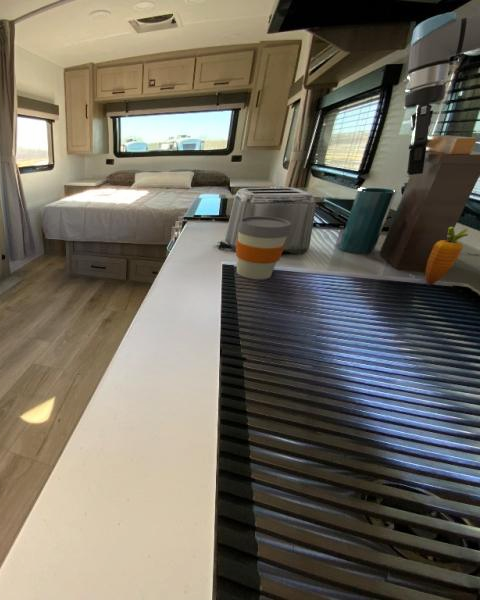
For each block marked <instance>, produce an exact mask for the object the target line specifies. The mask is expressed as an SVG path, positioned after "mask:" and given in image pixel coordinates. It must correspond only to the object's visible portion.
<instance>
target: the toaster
mask: <svg viewBox="0 0 480 600" xmlns="http://www.w3.org/2000/svg"><path fill="white" fill-rule="evenodd" d="M319 209H320V206H319V205H318V204H317V198H316V197H315V196H314V195H313V194H311V193H310V192H308V191H305V190H302V189H299V188H296V187H243V188H239V189H238V190H237V192H236V193H235V195H234V198H233V203H232V207H231V210H230V216H229V220H228V224H227V229H226V234H225V242H224V241H223V240H220V241H217V243H218V244H219V245H218V244H217V245H216V247H218V249H223V250H225V249H228V250H233V251H234V252H236V240H237V239H238V230H237V229H238V226H239V222H240V220H241V219H242V218H244V217H251V216H266V217H275V218H280V219H284V220H287V221H289V222H290V223H291V224H290V231H289V235H288V236H287V237H286V240H285V242H284V243H285V247H284V249H283V252H287V253H290V254H301V255H302V254H304V253H306V252H307V251H308V249H309V248H310V246H311V240H312V239H311V238H312V233H313V227H314V220H315V214H316V211H317V210H319Z"/></svg>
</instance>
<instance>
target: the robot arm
mask: <svg viewBox="0 0 480 600" xmlns="http://www.w3.org/2000/svg"><path fill="white" fill-rule="evenodd" d="M410 42H411V43H410V47H409V58H408V68H407V69H408V70H407V78H406V79H404V80H403V84H404V85H405V84H406V88H405V92H407V93H406V94H405V95H404V102H403V108H404V109H405V110H408V109H409V110H410V109H415V108H416V110H415V112H414V113H413V114H411V117H410V123H411V126H410V131H412V134H411V140H410V144H409V145H408V150H409V153H408V162H407V170H406V174H408V176H410V175H414V174H422V173H423V168H424V160H425V153H426V145H427V142H428V140H427V138H428V135H429V127H430V126H431V123H432V118H433V117H434V116H433V115H434V110H431V109H432V108H433V106H432V105H433V104H437V103H440V102H442V101H444V99H445V96H446V89H447V85H446V84H444V83H446V82H447V81H448V78H449V71H450V60H451V57H454V56H458V55H461V54H464V55H466V56H470V57H473V56H479V55H480V12H479V13H476V14H473V15H470V16H467V17H463V18H457V13H456V12H455V11H449V12H445V13H442V14H437V15H435V16H432V17H429V18H427V19H425V20H423V21H421V22H420V23H418V24H417V25H416V27H415V28H414V29H413V31H412V37H411V41H410Z"/></svg>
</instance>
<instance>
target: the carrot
mask: <svg viewBox="0 0 480 600" xmlns="http://www.w3.org/2000/svg"><path fill="white" fill-rule="evenodd" d="M468 230H469V229H468V228H464V229H462V230H460V232H459V233H458V234H455V227H449V229H448V236H447V238H448V239H447V240H441V241H438V242H437V243H436V244H435V245H434V247H433V249H432V251H431V254H430V256H429V259H428V262H427V266H426V272H425V279H426V283H427V285H433V284H435V283H436V282H438V281H439V280H440V279H441V278H442V277H444V276H445V275H446V274H447V272H449V270H450V269H451V267H453V266H454V264H455V262H456V260H457V259H458V257H459V256H460V254H461V252H462V250H463V248H464V245H463V244H462V243H461V242H458V240H460V239H462V238H464V237H468V236H469V234H468V233H467V232H468Z"/></svg>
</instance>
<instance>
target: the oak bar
mask: <svg viewBox="0 0 480 600" xmlns="http://www.w3.org/2000/svg"><path fill="white" fill-rule="evenodd" d="M427 140H428V142H427V145H426V150H431V151H436V152H441V153H446V154H471V152H472V151H473V149H474V147H475V145H476V143H477V141H478V140H479V139H478V137H470V136H459V135H446V134H428V138H427Z"/></svg>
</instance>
